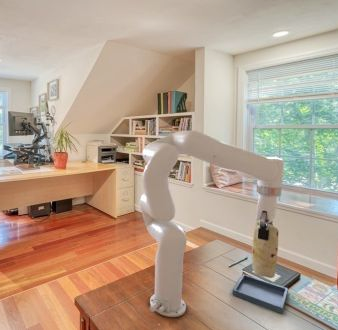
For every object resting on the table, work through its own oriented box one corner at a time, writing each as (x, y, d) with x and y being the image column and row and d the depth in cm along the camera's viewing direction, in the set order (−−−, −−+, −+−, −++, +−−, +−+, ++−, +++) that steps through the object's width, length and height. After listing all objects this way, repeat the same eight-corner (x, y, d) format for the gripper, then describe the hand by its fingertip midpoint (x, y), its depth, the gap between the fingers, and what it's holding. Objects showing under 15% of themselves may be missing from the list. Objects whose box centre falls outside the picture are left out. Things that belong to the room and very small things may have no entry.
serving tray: (282, 314, 89) (282, 308, 89) (232, 294, 99) (232, 289, 99) (287, 293, 100) (288, 288, 100) (242, 278, 111) (243, 273, 110)
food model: (280, 279, 94) (285, 227, 92) (265, 281, 93) (269, 229, 91) (258, 266, 104) (262, 219, 101) (244, 267, 103) (247, 220, 100)
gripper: (261, 185, 103) (258, 227, 106) (251, 193, 91) (248, 240, 93) (284, 188, 98) (280, 232, 100) (277, 196, 86) (273, 246, 88)
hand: (265, 235), depth 97 cm, fingers closed on food model, 7 cm apart
